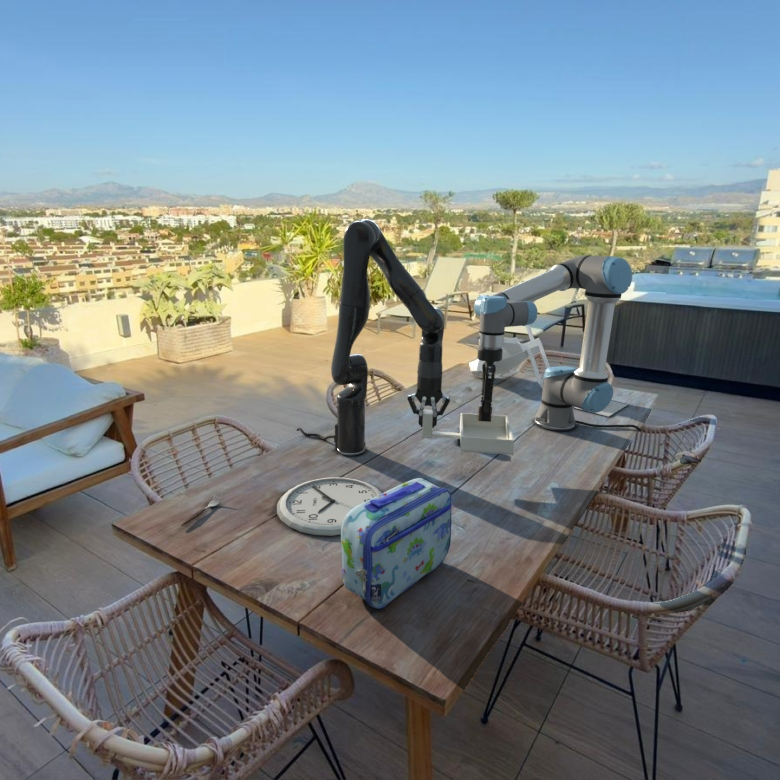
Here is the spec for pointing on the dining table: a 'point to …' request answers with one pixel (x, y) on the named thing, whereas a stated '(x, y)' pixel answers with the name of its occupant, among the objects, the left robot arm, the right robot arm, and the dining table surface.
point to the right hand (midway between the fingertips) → (484, 418)
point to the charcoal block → (458, 439)
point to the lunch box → (395, 540)
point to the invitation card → (610, 408)
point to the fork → (211, 504)
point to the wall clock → (323, 504)
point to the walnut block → (481, 411)
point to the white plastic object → (515, 356)
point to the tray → (476, 433)
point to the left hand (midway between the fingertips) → (427, 426)
